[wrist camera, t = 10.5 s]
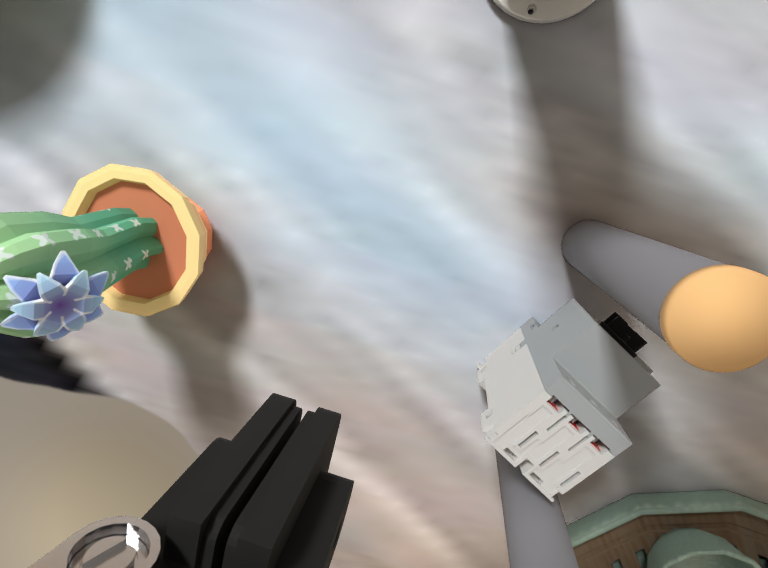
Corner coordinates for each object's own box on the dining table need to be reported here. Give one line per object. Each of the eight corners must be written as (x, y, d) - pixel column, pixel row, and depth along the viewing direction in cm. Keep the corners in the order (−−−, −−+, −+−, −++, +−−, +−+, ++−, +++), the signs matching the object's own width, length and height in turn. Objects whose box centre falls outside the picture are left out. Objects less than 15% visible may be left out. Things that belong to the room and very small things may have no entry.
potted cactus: (175, 320, 55) (-43, 431, 31) (93, 218, 54) (-200, 252, 30) (265, 248, 51) (94, 312, 27) (179, 136, 50) (-81, 98, 26)
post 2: (570, 213, 45) (694, 255, 21) (623, 226, 45) (811, 285, 21) (553, 262, 46) (651, 355, 23) (603, 275, 46) (759, 385, 22)
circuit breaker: (628, 326, 47) (702, 393, 32) (524, 411, 51) (549, 504, 36) (577, 277, 46) (629, 322, 32) (476, 365, 50) (482, 441, 36)
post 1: (500, 411, 51) (535, 618, 27) (546, 424, 51) (622, 648, 27) (487, 449, 53) (509, 679, 29) (531, 463, 52) (591, 709, 28)
